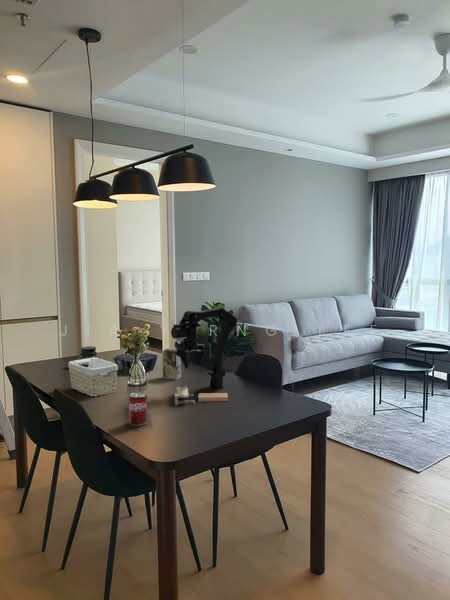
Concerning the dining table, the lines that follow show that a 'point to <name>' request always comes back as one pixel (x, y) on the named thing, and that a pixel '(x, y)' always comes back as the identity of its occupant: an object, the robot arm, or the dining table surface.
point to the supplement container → (87, 353)
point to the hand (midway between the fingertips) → (191, 366)
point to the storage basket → (93, 376)
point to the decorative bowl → (126, 361)
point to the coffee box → (171, 364)
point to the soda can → (137, 409)
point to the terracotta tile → (212, 397)
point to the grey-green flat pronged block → (182, 395)
